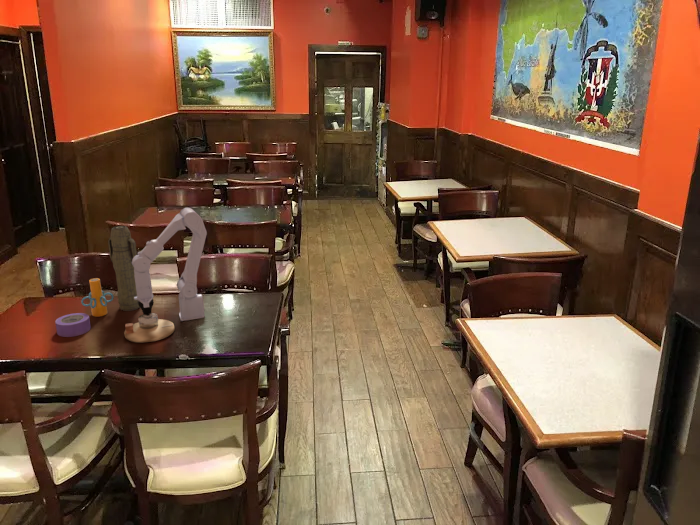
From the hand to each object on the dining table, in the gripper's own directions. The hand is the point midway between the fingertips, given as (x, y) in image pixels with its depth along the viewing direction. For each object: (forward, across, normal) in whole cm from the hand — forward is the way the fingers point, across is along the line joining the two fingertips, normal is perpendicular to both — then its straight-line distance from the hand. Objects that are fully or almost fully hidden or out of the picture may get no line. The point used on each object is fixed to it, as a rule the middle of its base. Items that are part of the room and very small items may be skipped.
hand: (147, 318), depth 222 cm
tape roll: (+3, -5, -27) cm, 28 cm away
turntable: (+3, +9, 0) cm, 9 cm away
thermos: (+3, -21, -6) cm, 22 cm away
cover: (+1, +5, 0) cm, 5 cm away
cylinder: (+3, -18, -18) cm, 26 cm away
